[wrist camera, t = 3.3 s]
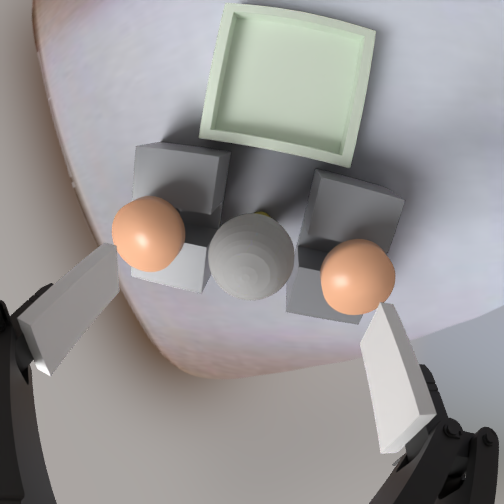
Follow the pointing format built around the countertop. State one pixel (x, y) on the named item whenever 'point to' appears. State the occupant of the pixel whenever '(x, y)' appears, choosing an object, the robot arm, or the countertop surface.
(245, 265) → the light bulb
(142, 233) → the plunger
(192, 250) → the socket housing
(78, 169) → the countertop surface
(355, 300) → the orange mushroom knob
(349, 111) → the tray
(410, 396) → the robot arm
